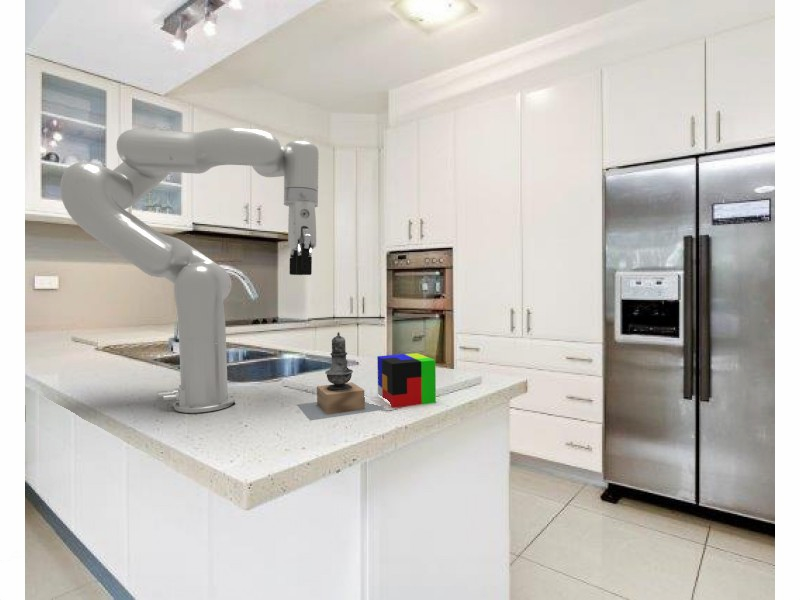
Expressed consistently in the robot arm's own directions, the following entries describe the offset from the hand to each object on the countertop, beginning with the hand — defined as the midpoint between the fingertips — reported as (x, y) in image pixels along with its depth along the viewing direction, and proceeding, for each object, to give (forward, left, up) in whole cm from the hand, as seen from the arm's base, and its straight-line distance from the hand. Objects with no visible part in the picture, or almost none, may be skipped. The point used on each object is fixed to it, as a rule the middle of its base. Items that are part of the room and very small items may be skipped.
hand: (300, 274), depth 102 cm
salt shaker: (+5, -11, -24) cm, 27 cm away
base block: (+5, -12, -28) cm, 31 cm away
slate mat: (+5, -12, -29) cm, 31 cm away
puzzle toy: (+20, -13, -29) cm, 38 cm away
